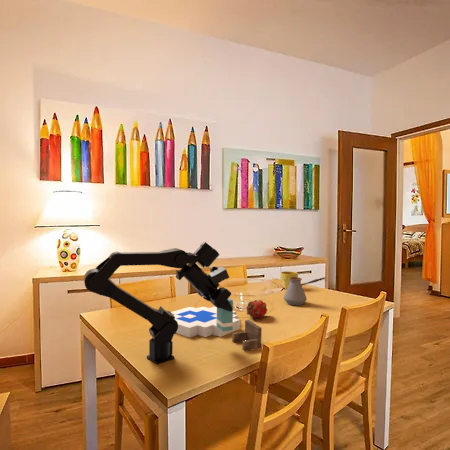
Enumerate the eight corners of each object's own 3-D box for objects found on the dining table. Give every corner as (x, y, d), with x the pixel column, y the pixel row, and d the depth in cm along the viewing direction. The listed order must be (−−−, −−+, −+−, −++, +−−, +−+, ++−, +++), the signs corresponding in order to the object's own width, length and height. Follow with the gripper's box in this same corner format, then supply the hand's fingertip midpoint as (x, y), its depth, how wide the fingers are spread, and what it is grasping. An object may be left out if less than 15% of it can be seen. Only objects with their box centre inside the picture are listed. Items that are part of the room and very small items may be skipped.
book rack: (244, 351, 117) (244, 330, 117) (232, 341, 126) (232, 321, 125) (261, 348, 120) (261, 327, 119) (248, 338, 128) (248, 319, 128)
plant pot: (301, 289, 210) (301, 273, 209) (287, 291, 204) (288, 274, 204) (289, 286, 218) (290, 270, 218) (276, 287, 213) (277, 271, 213)
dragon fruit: (246, 324, 150) (262, 322, 158) (260, 315, 145) (276, 313, 154) (238, 305, 154) (255, 304, 162) (252, 296, 149) (268, 296, 158)
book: (222, 331, 116) (223, 301, 115) (216, 326, 121) (216, 297, 120) (232, 330, 117) (233, 300, 117) (226, 325, 122) (226, 296, 122)
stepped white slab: (205, 332, 124) (154, 316, 141) (205, 344, 124) (154, 326, 142) (251, 315, 145) (202, 303, 163) (251, 324, 145) (202, 311, 163)
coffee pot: (279, 304, 176) (280, 274, 176) (288, 299, 186) (289, 271, 185) (321, 311, 165) (322, 279, 164) (329, 305, 174) (329, 275, 174)
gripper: (225, 263, 108) (256, 296, 113) (204, 256, 125) (232, 284, 130) (201, 291, 105) (234, 323, 110) (183, 279, 122) (212, 308, 127)
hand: (228, 308), depth 119 cm, fingers closed on book, 5 cm apart
